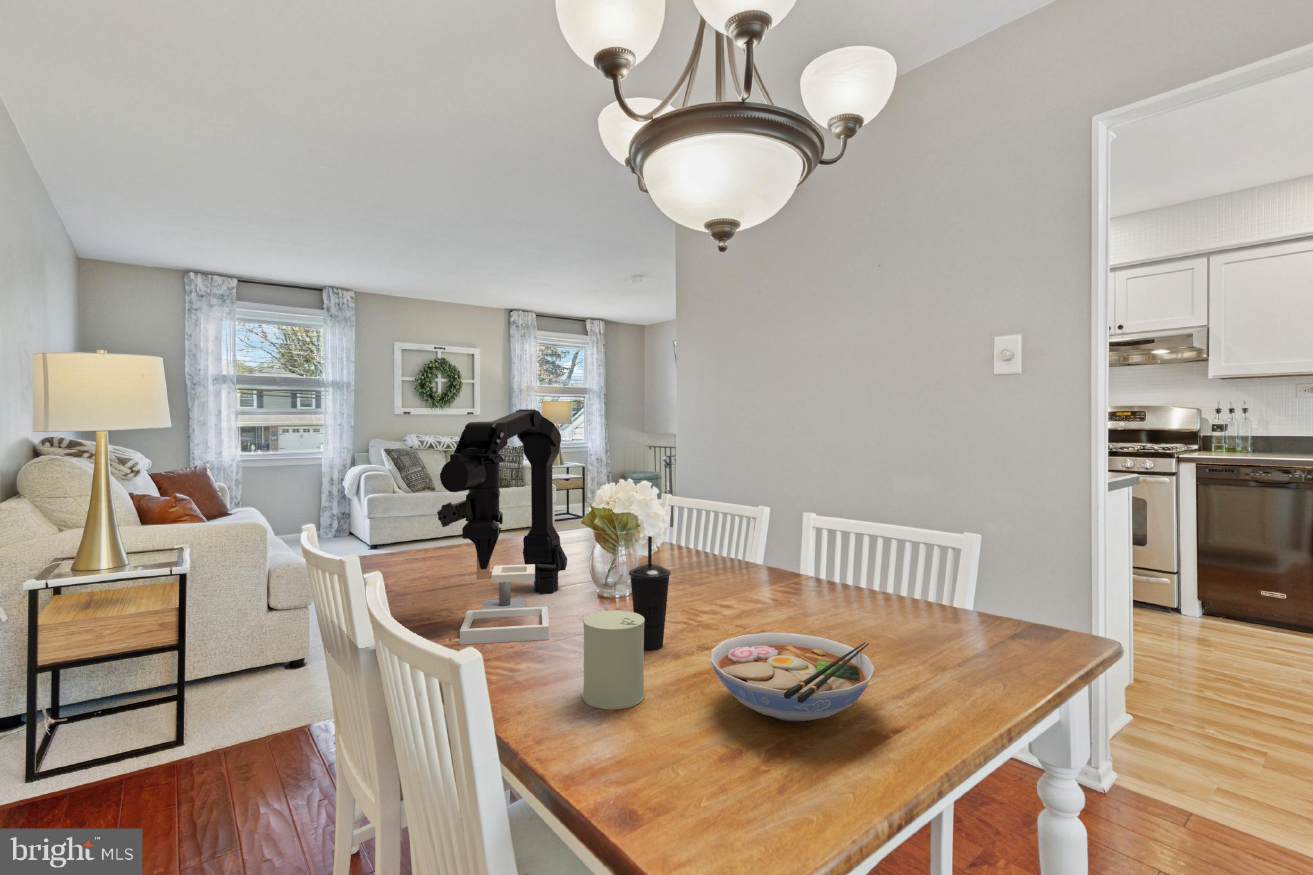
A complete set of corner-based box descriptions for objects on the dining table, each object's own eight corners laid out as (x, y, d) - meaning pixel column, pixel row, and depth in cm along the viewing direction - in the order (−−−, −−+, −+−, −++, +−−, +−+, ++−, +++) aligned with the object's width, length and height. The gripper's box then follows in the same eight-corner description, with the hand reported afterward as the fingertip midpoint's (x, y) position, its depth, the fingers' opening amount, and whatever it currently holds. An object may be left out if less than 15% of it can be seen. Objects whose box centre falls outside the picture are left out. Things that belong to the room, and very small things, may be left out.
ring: (478, 573, 126) (478, 546, 126) (534, 571, 128) (534, 544, 128) (474, 583, 118) (474, 554, 118) (534, 580, 120) (534, 552, 120)
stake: (484, 605, 140) (484, 573, 140) (526, 603, 142) (526, 571, 142) (481, 617, 131) (481, 583, 131) (525, 615, 133) (525, 581, 133)
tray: (467, 622, 128) (467, 610, 128) (547, 618, 131) (547, 606, 131) (459, 644, 115) (459, 631, 115) (548, 639, 118) (548, 626, 118)
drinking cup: (622, 642, 117) (622, 534, 117) (659, 636, 120) (660, 531, 120) (638, 655, 110) (639, 541, 110) (677, 649, 113) (678, 538, 113)
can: (623, 715, 88) (623, 629, 87) (569, 701, 92) (570, 619, 92) (655, 691, 96) (656, 612, 95) (605, 679, 100) (605, 603, 100)
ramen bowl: (763, 664, 106) (763, 616, 106) (901, 703, 92) (902, 647, 92) (671, 717, 87) (672, 658, 87) (828, 776, 73) (829, 706, 72)
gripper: (447, 483, 129) (447, 558, 130) (432, 493, 111) (432, 581, 111) (503, 482, 131) (503, 556, 132) (497, 492, 113) (497, 578, 113)
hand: (484, 567), depth 122 cm, fingers closed on ring, 2 cm apart
